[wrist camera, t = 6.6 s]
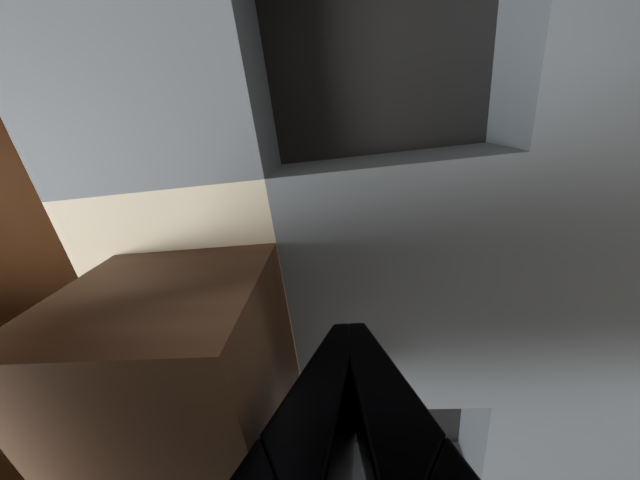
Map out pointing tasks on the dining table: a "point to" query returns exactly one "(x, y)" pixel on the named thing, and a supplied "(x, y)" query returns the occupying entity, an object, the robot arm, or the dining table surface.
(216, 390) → the walnut block
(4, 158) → the dining table surface
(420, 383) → the trap deck
